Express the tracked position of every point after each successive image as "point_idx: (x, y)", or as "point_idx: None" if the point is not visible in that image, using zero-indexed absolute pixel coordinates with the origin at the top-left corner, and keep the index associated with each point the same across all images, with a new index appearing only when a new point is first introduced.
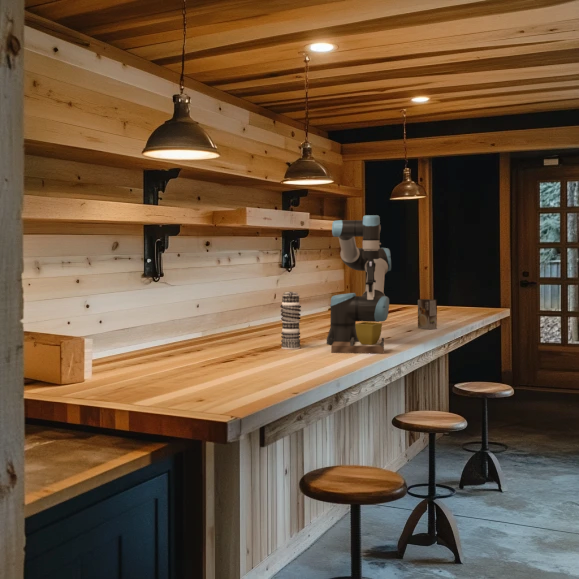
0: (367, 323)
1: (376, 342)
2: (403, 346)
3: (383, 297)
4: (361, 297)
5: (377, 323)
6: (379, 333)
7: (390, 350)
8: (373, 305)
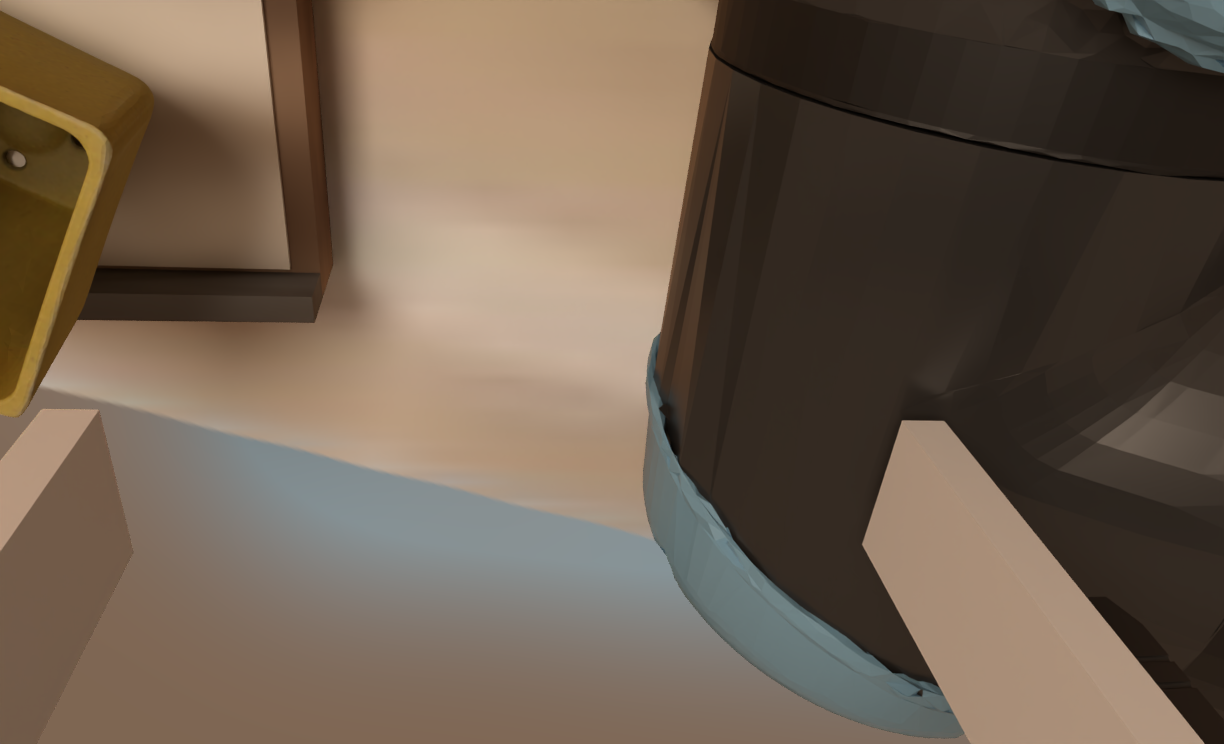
0: (88, 183)
1: (57, 220)
2: (579, 439)
3: (862, 685)
4: (1017, 236)
5: (31, 348)
6: (10, 307)
7: (254, 326)
8: (695, 418)
